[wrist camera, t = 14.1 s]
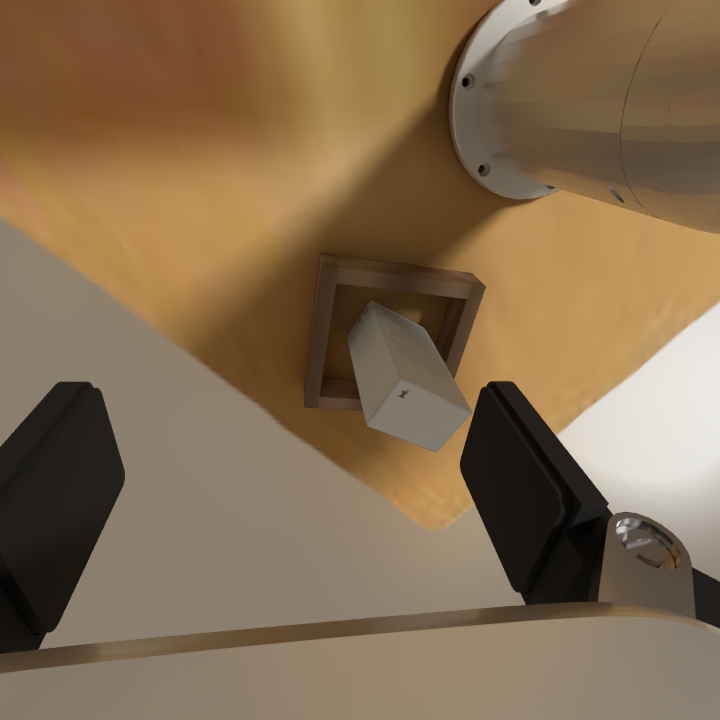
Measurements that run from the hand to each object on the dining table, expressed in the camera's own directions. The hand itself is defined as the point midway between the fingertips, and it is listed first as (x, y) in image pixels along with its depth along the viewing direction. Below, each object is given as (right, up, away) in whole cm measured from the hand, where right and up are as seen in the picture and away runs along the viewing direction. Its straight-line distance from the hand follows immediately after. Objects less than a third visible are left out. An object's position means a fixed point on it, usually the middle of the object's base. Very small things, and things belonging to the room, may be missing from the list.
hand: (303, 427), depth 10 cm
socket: (+4, +4, +26) cm, 26 cm away
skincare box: (+4, +4, +26) cm, 27 cm away
